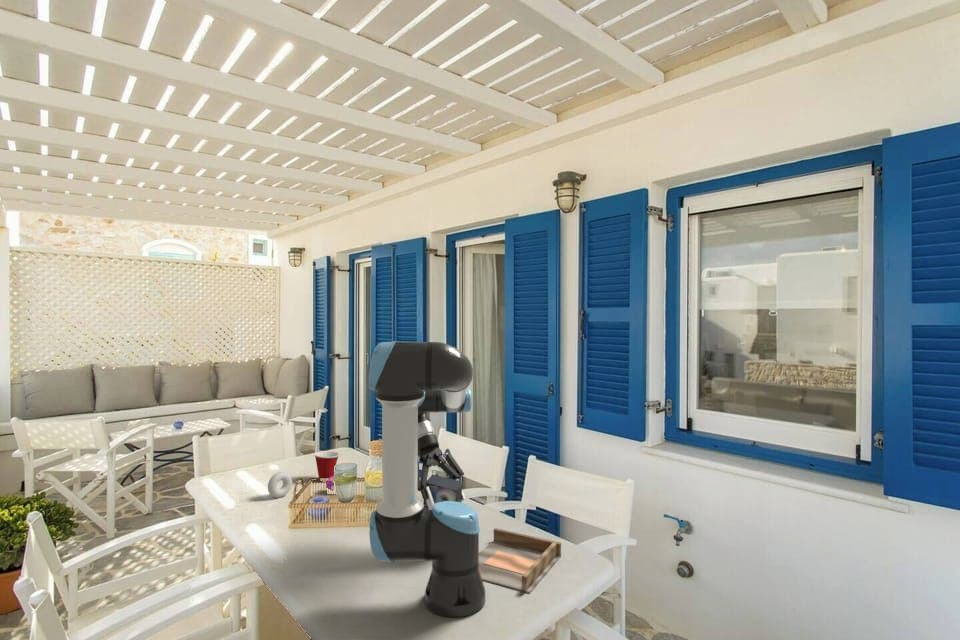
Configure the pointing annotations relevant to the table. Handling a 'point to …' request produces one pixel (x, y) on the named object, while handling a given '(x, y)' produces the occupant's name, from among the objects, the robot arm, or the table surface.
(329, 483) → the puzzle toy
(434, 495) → the small box
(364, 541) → the table surface
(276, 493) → the donut
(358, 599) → the table surface
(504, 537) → the wooden tray
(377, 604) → the table surface
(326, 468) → the plastic cup
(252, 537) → the table surface
